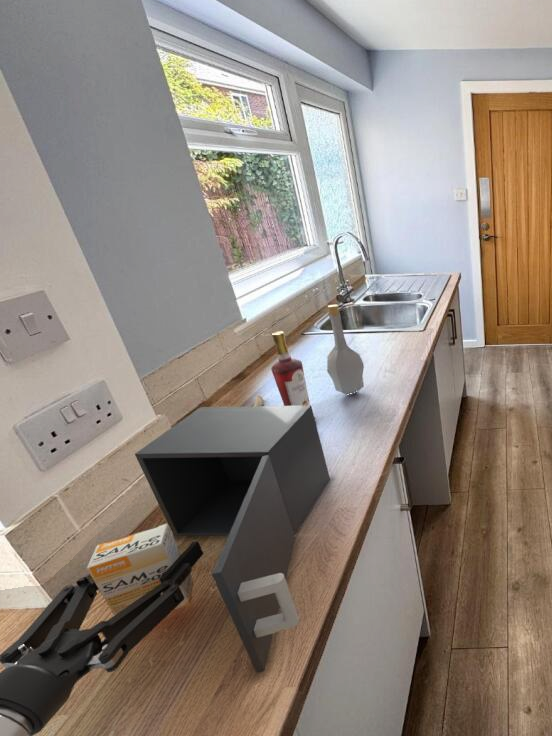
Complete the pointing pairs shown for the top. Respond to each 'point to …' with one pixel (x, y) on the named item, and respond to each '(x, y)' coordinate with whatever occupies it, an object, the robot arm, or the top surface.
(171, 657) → the top surface
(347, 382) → the bottle
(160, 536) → the supplement box
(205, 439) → the cabinet
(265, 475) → the cabinet door
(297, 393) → the liquor
